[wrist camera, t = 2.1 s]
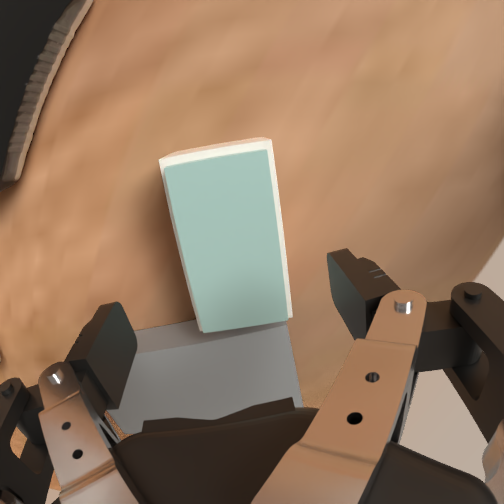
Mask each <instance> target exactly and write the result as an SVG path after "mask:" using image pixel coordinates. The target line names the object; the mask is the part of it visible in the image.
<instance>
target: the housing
mask: <svg viewBox="0 0 504 504" xmlns="http://www.w3.org/2000/svg"><path fill="white" fill-rule="evenodd" d="M159 164H160V169H161V174H162V179H163V184H164V188H165V193H166V198H167V202H168V207H169V212H170V216H171V220H172V225H173V229H174V233H175V238H176V242H177V246H178V250H179V254H180V258H181V262H182V266H183V270H184V274H185V278H186V282H187V286H188V290H189V293H190V297H191V301H192V305H193V308H194V312H195V315H196V319H197V323H198V326H199V330H200V331H203V333H208V332H216V331H223V330H230V329H237V328H243V327H250V326H256V325H263V324H269V323H275V322H281V321H287V320H288V318H290V317H293V315H292V305H291V295H290V286H289V277H288V268H287V259H286V250H285V241H284V233H283V224H282V216H281V208H280V200H279V192H278V185H277V177H276V170H275V162H274V155H273V148H272V141H271V140H270V139H268V138H265V137H259V138H251V139H245V140H238V141H232V142H226V143H220V144H214V145H208V146H203V147H198V148H192V149H187V150H182V151H177V152H173V153H171V154H169V155H167V156H165V157H163V158H161V159H159Z"/></svg>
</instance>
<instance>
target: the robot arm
mask: <svg viewBox="0 0 504 504" xmlns="http://www.w3.org/2000/svg"><path fill="white" fill-rule="evenodd" d="M327 263H328V271H329V278H330V286H331V293H332V298H333V301H334V304H335V306H336V308H337V310H338V312H339V313H340V315H341V317H342V318H343V320H344V322H345V324H346V326H347V327H348V329H349V331H350V333H351V334H352V336H353V338H354V340H355V342H354V344H353V346H352V348H351V350H350V352H349V354H348V356H347V358H346V360H345V362H344V364H343V366H342V368H341V370H340V372H339V374H338V376H337V378H336V380H335V382H334V383H333V385H332V387H331V389H330V391H329V393H328V395H327V396H326V398H325V400H324V402H323V404H322V405H321V407H320V409H317V408H308V407H295V406H294V402H293V398H292V397H289V398H284V399H280V400H276V401H271V402H266V403H262V404H257V405H253V406H250V407H248V408H245V409H243V410H240V411H237V412H235V413H232V414H229V415H227V416H224V417H221V418H219V419H215V420H206V419H192V418H180V417H174V418H165V419H155V420H144V422H143V427H142V432H138V433H136V434H133V435H131V436H129V437H127V438H125V439H123V440H122V441H121V439H120V438H119V436H118V435H117V433H116V431H115V430H114V428H113V426H112V425H111V423H110V421H109V420H108V418H107V417H106V416H105V414H104V413H105V410H116V409H119V406H120V403H121V399H122V396H123V393H124V389H125V386H126V383H127V380H128V376H129V373H130V370H131V367H132V364H133V361H134V357H135V354H136V351H137V338H136V335H135V333H134V331H133V328H132V326H131V324H130V322H129V320H128V318H127V316H126V313H125V311H124V309H123V307H122V305H121V304H120V303H119V302H113V303H109V304H104V305H100V306H99V308H98V310H97V311H96V313H95V315H94V316H93V318H92V320H91V321H90V322H89V323H88V324H86V325H85V326H84V327H83V329H82V331H81V333H80V334H79V337H78V338H77V339H76V341H75V344H74V345H73V346H72V348H71V350H70V352H69V354H68V355H67V357H66V359H65V361H64V362H58V363H55V364H53V365H51V366H49V367H48V368H47V369H45V370H44V371H43V373H42V374H41V375H40V377H39V380H38V384H37V385H34V386H31V387H28V388H26V387H25V385H24V384H23V382H22V381H21V380H20V379H19V378H11V379H8V380H6V381H5V382H3V383H2V384H1V385H0V504H45V501H46V498H47V493H48V489H49V485H50V482H51V478H52V474H53V470H55V473H56V475H57V478H58V481H59V484H60V486H61V492H60V494H59V497H58V498H57V499H56V500H55V501H54V502H53V503H52V504H504V301H503V300H502V299H501V298H500V297H499V296H497V295H496V294H495V293H494V292H493V291H492V290H490V289H489V288H488V287H487V286H485V285H482V284H479V283H475V282H466V283H461V284H459V285H457V286H455V287H454V288H453V290H452V292H451V300H447V301H439V302H427V301H426V299H425V297H424V296H423V295H422V294H420V293H418V292H416V291H412V290H401V289H400V288H399V287H398V286H397V285H396V284H395V283H394V282H393V281H392V279H391V278H390V277H389V276H388V275H386V273H385V272H384V271H383V270H382V269H380V267H379V266H378V265H377V264H376V263H375V262H373V261H371V260H368V259H366V258H359V259H357V258H356V257H355V256H354V255H353V254H352V253H351V252H350V251H349V250H348V249H347V248H346V249H342V250H338V251H334V252H330V253H327ZM439 369H443V371H444V372H445V374H446V375H447V376H448V378H449V379H450V381H451V383H452V384H453V386H454V388H455V389H456V391H457V392H458V394H459V396H460V397H461V399H462V400H463V402H464V403H465V405H466V407H467V409H468V410H469V412H470V414H471V415H472V417H473V419H474V420H475V422H476V424H477V425H478V427H479V429H480V431H481V432H482V434H483V436H484V437H485V439H486V441H487V443H488V445H487V447H486V448H485V451H484V453H483V457H482V463H483V467H484V471H485V476H486V477H485V483H484V482H483V481H481V480H480V479H478V478H477V477H475V476H473V475H471V474H469V473H466V472H463V471H461V470H458V469H456V468H453V467H450V466H448V465H445V464H443V463H440V462H438V461H436V460H433V459H431V458H428V457H426V456H424V455H421V454H419V453H417V452H415V451H412V450H410V449H408V448H406V447H404V446H402V445H399V443H400V440H401V436H402V433H403V430H404V426H405V422H406V418H407V415H408V412H409V408H410V405H411V401H412V398H413V394H414V390H415V387H416V383H417V379H418V375H419V372H424V371H432V370H439ZM16 426H17V427H18V429H19V430H20V431H21V432H22V433H23V434H24V435H25V436H26V437H27V441H26V443H25V446H24V449H23V451H22V454H21V457H20V459H19V458H18V457H17V456H16V455H15V454H14V453H13V452H12V450H11V447H10V439H11V437H12V434H13V432H14V430H15V428H16Z"/></svg>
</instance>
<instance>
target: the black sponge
mask: <svg viewBox="0 0 504 504" xmlns="http://www.w3.org/2000/svg"><path fill="white" fill-rule="evenodd" d="M92 2H93V0H0V192H1V191H3V190H4V189H6V188H8V187H10V186H12V185H13V184H14V183H16V182H17V181H18V179H19V178H20V176H21V172H22V168H23V166H24V162H25V157H26V154H27V151H28V149H29V145H30V143H31V140H32V138H33V132H34V130H35V126H36V124H37V120H38V117H39V114H40V111H41V107H42V105H43V103H44V100H45V97H46V96H47V94H48V90H49V87H50V85H51V84H52V80H53V78H54V76H55V75H56V72H57V69H58V67H59V65H60V62H61V60H62V58H63V57H64V56H65V51H66V49H67V48H68V47H69V43H70V42H71V40H72V39H73V38H74V33H75V31H76V29H77V28H78V26H79V25H80V23H81V21H82V19H83V18H84V16H85V14H86V13H87V11H88V9H89V7H90V6H91V4H92Z"/></svg>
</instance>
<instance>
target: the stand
mask: <svg viewBox="0 0 504 504" xmlns="http://www.w3.org/2000/svg"><path fill="white" fill-rule="evenodd" d="M134 333H135V335H136V338H137V351H136V354H135V357H134V361H133V364H132V367H131V370H130V373H129V376H128V380H127V383H126V386H125V389H124V393H123V396H122V399H121V403H120V406H119V409H116V410H107V412H108V413H109V414H110V416H111V417H112V418H113V420H114V421H115V422H116V423H117V425H118V426H119V427H120V429H121V430H122V431H123V432H124V434H136V433H138V432H142V427H143V422H144V420H155V419H165V418H174V417H180V418H192V419H206V420H215V419H219V418H221V417H224V416H227V415H229V414H232V413H235V412H237V411H240V410H243V409H245V408H248V407H250V406H253V405H257V404H262V403H266V402H271V401H276V400H280V399H284V398H289V397H292V398H293V402H294V406H295V407H303V402H302V397H301V392H300V387H299V382H298V377H297V372H296V367H295V362H294V357H293V352H292V347H291V342H290V337H289V332H288V327H287V323H286V321H281V322H275V323H269V324H263V325H256V326H250V327H243V328H237V329H230V330H223V331H216V332H208V333H203V331H200V330H199V326H198V323H197V319H196V320H191V321H186V322H181V323H175V324H170V325H165V326H159V327H154V328H149V329H143V330H137V331H134Z"/></svg>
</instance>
